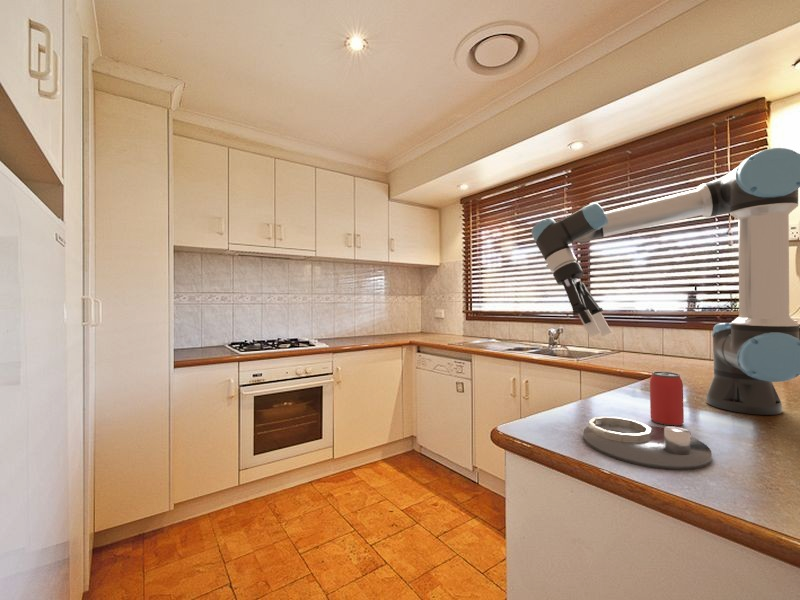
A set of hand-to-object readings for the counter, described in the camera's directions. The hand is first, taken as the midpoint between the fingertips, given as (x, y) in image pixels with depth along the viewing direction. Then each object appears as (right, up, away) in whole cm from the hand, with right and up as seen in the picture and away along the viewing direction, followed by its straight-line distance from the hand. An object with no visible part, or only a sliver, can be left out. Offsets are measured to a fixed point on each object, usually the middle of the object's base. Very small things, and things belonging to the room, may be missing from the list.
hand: (601, 334), depth 98 cm
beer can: (+11, -21, -9) cm, 25 cm away
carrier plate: (-4, -21, -22) cm, 31 cm away
